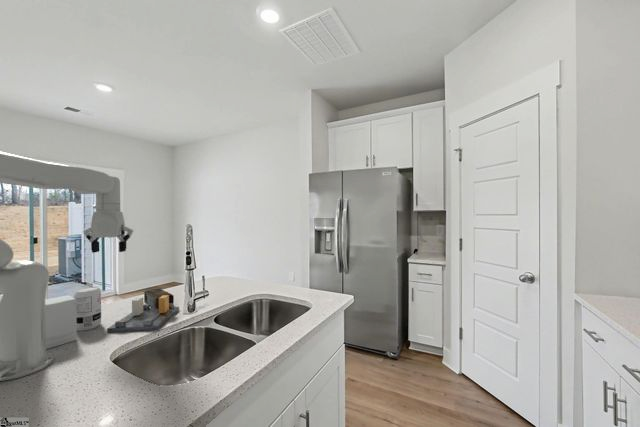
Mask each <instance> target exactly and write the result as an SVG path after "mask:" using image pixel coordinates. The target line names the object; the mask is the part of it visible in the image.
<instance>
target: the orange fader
mask: <svg viewBox="0 0 640 427" xmlns="http://www.w3.org/2000/svg"><path fill="white" fill-rule="evenodd" d="M168 310H169V295H163V296H161V297H160V298H159V313H165V312H167V311H168Z"/></svg>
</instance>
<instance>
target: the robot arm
mask: <svg viewBox="0 0 640 427" xmlns="http://www.w3.org/2000/svg"><path fill="white" fill-rule="evenodd" d="M0 184H4V185H11V186H12V185H13V186H20V187H27V188H34V189H44V190H71V191H72V192H73V193H76V194H80V195H95V204H94V205H92V208H93V209H95V211H93V213H92V217H91V221H90V222H91V224H90V227H89V228H87V229H85V230H83V234H84V236H85V238H86V239H87V240H88V241H89V242H90V245H91V249H90V250H91V253H93V254H94V253H98V252H100V241H99V239H100V238H118V240H119V242H118V252H119V253H124V252H126V251H127V241H128V240H129V239H130V238H131V237H132V235H133V233H134V230H133V229H132V228H130V227H128V226H126V225H125V216H124V213H123V211H121V180H120V178H119V177H117V176H111V175H109V174H107V173H106V172H102V171H99V170H95V169H91V168H85V167H79V166H72V165H67V164H60V163H54V162H48V161H43V160H38V159H33V158H30V157H25V156H20V155H17V154H12V153H7V152H3V151H0ZM126 232H127V233H126ZM49 282H50V272H49V270H48V268H47V267H46V266H45V265H44V264H42V263H40V262H37V261H35V260H34V261H33V260H22V259H21V260H19V259H18V260H16V259H15V260H14V250H13V248H12V247H11V246H10V244H8V243H7V242H6V241H5V240H3V239H2V238H0V294H2V297H1V299H0V382H3V381H5V382H6V381H10V380H15V379H19V378H23V377H25V376H29V375H32V374H34V373H37V372H38V371H41V370H43V369H45V368H46V367H48V366H49V365H50V364H52V363H53V361H54V355H53V354H51V353H47V349H46V311H45V300H46V299H47V298H46V296H47V290H48V289H47V288H48V285H49Z"/></svg>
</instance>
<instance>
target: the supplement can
mask: <svg viewBox="0 0 640 427" xmlns="http://www.w3.org/2000/svg"><path fill="white" fill-rule="evenodd" d="M101 293H102V292H101V290H100V288H99V287H98V286H97V287H96V286H94V287H93V286H91V287H85V288H80V289H77V290H75V292H74V294H73V298H75V299H76V314H77V332H84V331H85V332H86V331H89V330H90V331H91V330H93V329H95V328H97V327H100V325H101V324H102V294H101Z"/></svg>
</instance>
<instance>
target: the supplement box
mask: <svg viewBox="0 0 640 427" xmlns="http://www.w3.org/2000/svg"><path fill="white" fill-rule="evenodd" d="M45 311H46V350H48V349H51V348H54V347H57V346H61V345H64V344H68V343H71V342H75V341H77V340H78V334H77V332H78V331H77V314H76V299H75V298H74V296H73V297H72V296H71V295H68V294H67V295H61V296H57V297H51V298H45Z"/></svg>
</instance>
